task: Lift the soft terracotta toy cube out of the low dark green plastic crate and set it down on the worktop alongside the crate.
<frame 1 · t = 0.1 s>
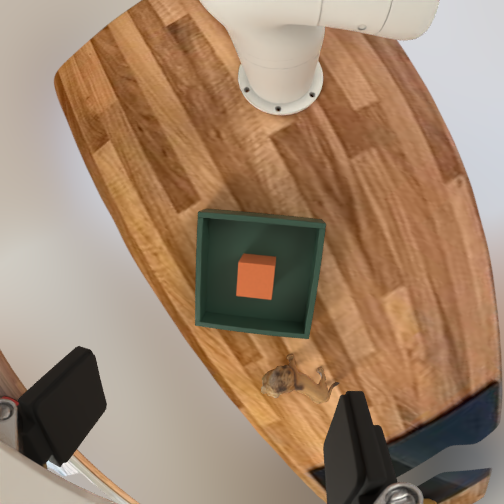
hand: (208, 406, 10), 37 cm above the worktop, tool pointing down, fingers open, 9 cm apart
toy cube: (258, 270, 46), resting on crate
crate: (258, 270, 47), on the worktop
potato: (421, 500, 60), on the worktop
lion figurine: (300, 370, 50), on the worktop
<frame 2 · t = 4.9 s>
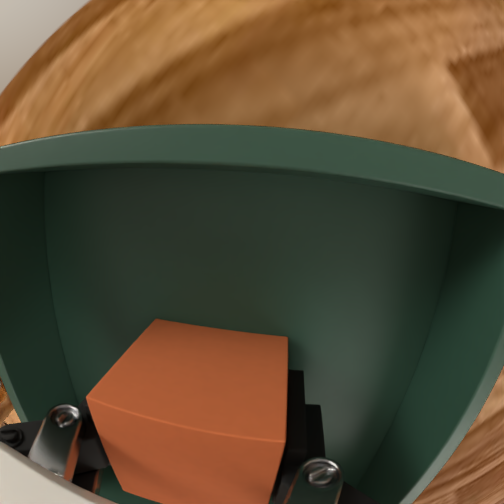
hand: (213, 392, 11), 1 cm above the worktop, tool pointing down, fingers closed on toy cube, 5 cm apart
toy cube: (217, 381, 11), resting on crate, touching gripper
crate: (219, 376, 12), on the worktop
lion figurine: (7, 399, 15), on the worktop
when the fingers open (1 cm above the worktop, at t = 14.8 s): toy cube stays where it is, on the worktop.
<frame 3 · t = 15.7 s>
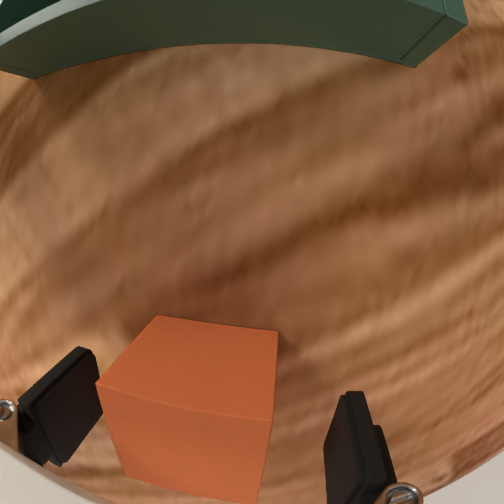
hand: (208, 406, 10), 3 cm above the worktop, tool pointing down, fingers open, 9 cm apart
toy cube: (214, 373, 12), on the worktop
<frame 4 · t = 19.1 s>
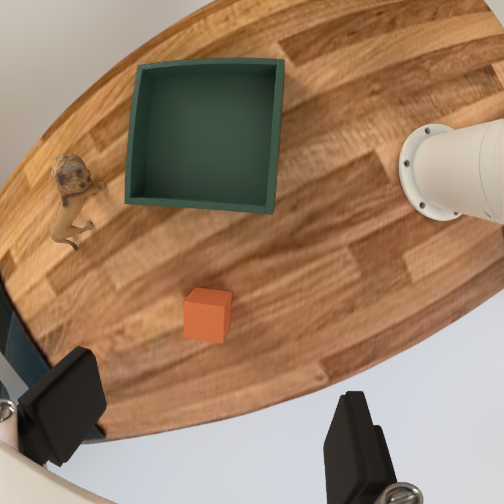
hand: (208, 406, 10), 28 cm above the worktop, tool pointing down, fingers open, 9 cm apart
toy cube: (212, 306, 40), on the worktop
crate: (207, 134, 35), on the worktop
lion figurine: (87, 200, 39), on the worktop
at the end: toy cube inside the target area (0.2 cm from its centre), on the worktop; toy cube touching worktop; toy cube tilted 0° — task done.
